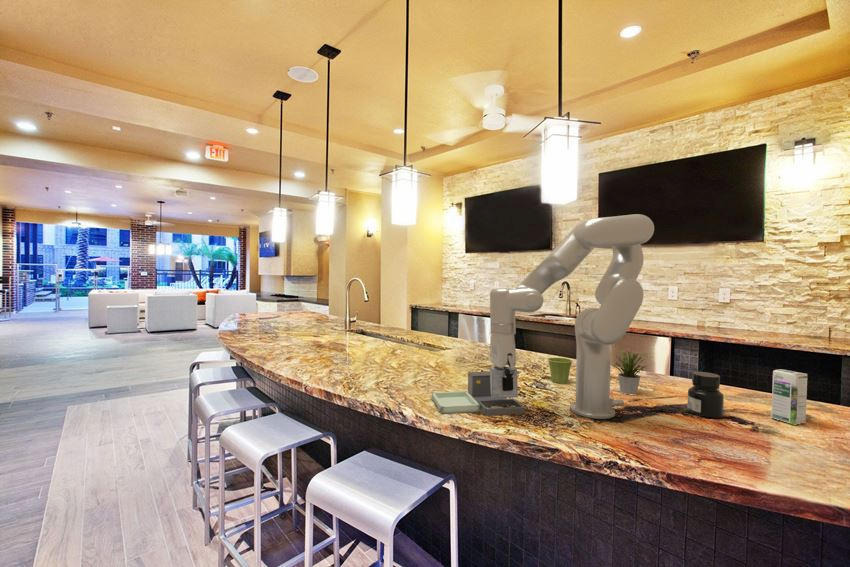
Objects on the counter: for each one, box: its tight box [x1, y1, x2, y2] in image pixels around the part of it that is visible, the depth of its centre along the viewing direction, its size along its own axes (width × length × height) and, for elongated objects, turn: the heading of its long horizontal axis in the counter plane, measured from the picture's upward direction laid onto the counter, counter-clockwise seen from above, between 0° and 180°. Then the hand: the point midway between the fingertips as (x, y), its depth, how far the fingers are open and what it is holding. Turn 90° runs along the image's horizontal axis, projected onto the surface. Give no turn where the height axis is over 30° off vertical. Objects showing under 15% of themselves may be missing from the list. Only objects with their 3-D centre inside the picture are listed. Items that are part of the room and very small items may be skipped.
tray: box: [431, 390, 481, 415], centre depth 122 cm, size 12×14×2 cm
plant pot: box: [547, 357, 573, 384], centre depth 151 cm, size 9×9×9 cm
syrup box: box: [770, 368, 808, 426], centre depth 112 cm, size 6×6×14 cm
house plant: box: [612, 347, 653, 395], centre depth 137 cm, size 14×14×16 cm
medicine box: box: [489, 365, 519, 399], centre depth 118 cm, size 8×4×9 cm, turn 85°
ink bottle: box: [686, 371, 725, 419], centre depth 118 cm, size 10×9×12 cm
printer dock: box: [467, 371, 526, 417], centre depth 124 cm, size 13×21×8 cm, turn 10°
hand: (503, 387), depth 118 cm, fingers closed on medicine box, 5 cm apart
